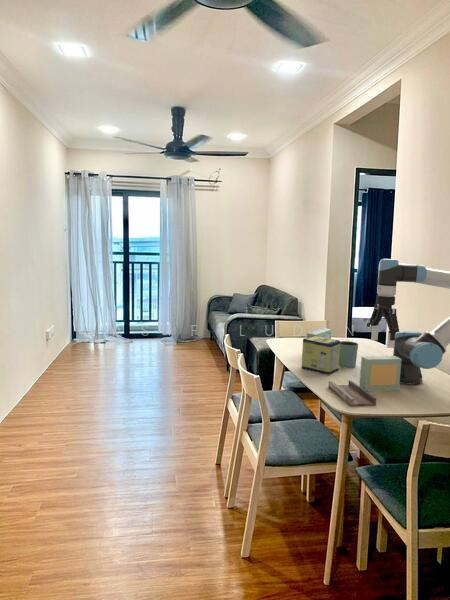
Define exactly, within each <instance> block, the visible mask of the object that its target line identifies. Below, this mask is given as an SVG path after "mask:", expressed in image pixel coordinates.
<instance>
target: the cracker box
mask: <svg viewBox="0 0 450 600" xmlns="http://www.w3.org/2000/svg"><path fill="white" fill-rule="evenodd" d="M360 358H361V361H360V373H359V374H360V375H359V384H358V386H360V387H361V388H363V389H364V390H365V391H367V392H373V390H374V391H375V390H381V391H399V390H400V384H401V383H400V371H401V358H399V357H396V356H393V355H377V356H376V355H375V356H371V355H369V356H364V355H363V356H361V357H360ZM371 390H372V391H371ZM375 392H376V391H375Z"/></svg>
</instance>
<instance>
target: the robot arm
mask: <svg viewBox="0 0 450 600" xmlns="http://www.w3.org/2000/svg"><path fill="white" fill-rule="evenodd" d="M377 269H378V272H377V273H378V277H377V287H376V290H377V291H376V294H377V295H376V300H375V303H374V308H373V311H372V314H371V316H370V318H369V324H371V325H370V326H371V335H370V336H371V338H370V340H371V341H379V340H378V339H379V338H378V337H379V325H380V322H381V320H382V319H383V318H384V320H385V321H386V324H387V327H388V328H387V329H388V332H387V342H386V343H387V345H386V348H388V349H393V354H392V356H396V357H399V358H401V371H400V383H399V384H403V385H404V384H405V385H419V384H423V383H422V382H423V374H422V371H421V369H423V370H430V369H433V368H436V367H437V366H438V365H440V364H441V362H442V360H443V358H442V357H443V355H444V354H445V353H446V352H447V346H450V315H449V316H448V317H447V318H446V319H445V320H444V321H442V322H441V323H440V324H438V326H437V325H436V327H435V328H434V329H433V330H431V331H425V332H423V333H422V332H419V331H411V330H410V331H409V330H408V331H407V330H402V331H401V330H400V329H399V327H400V326H399V323H398V322H399V321H398V317H397V309H396V308H393V306H395V304H396V297H395V296H396V294H397V284H398V282H399V283H401V282H402V283H403V282H405V283H415V284H420V285H421V284H422V285H425V286H426V285H427V286H431V287H438V288H441V289H442V288H444V289H449V290H450V271H448V270H447V271H446V270H441V269H435V268H430V267H426V266H425V265H423V264H414V263H413V264H411V263H410V264H409V263H402V262H399V260H398V259H396V258H382V259H380V261H379V264H378V268H377Z"/></svg>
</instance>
